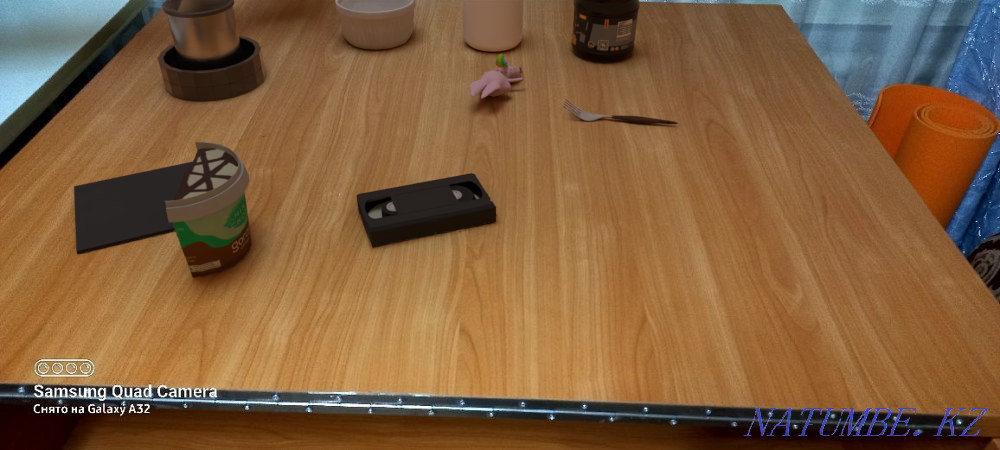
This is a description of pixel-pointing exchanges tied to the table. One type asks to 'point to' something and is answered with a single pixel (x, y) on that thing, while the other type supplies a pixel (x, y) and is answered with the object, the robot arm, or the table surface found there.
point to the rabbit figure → (497, 79)
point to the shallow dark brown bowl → (214, 75)
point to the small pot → (204, 33)
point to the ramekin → (376, 22)
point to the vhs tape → (424, 209)
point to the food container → (212, 211)
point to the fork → (613, 116)
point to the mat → (125, 207)
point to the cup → (492, 24)
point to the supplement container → (604, 29)
